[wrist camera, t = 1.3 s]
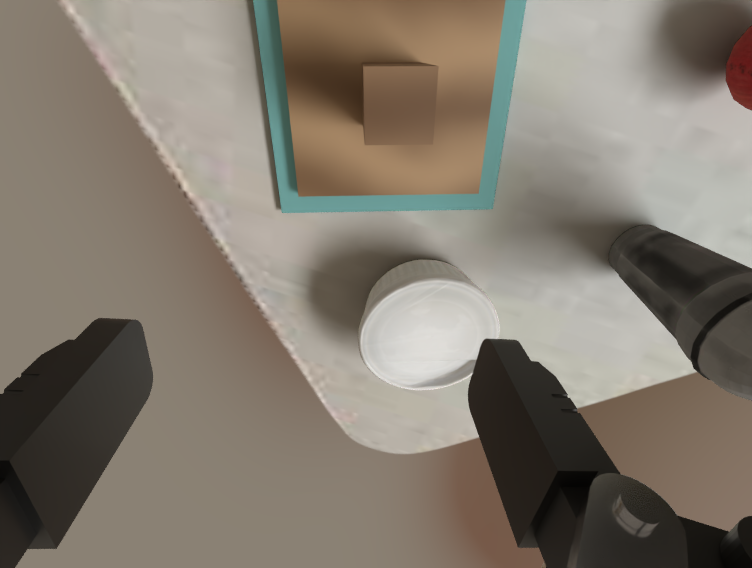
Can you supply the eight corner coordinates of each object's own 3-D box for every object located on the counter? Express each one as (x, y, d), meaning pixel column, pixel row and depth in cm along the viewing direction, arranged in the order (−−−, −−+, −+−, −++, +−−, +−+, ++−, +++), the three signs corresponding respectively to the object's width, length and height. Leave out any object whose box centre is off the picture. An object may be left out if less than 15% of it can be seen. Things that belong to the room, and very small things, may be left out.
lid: (275, -35, 22) (245, -66, 16) (505, -34, 22) (559, -63, 16) (299, 193, 28) (285, 230, 23) (475, 190, 29) (505, 226, 23)
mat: (245, -69, 21) (243, -71, 21) (533, -67, 22) (537, -69, 21) (282, 210, 29) (281, 212, 29) (490, 206, 30) (492, 209, 30)
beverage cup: (614, 300, 35) (855, 537, 18) (576, 249, 32) (822, 473, 15) (694, 250, 33) (1058, 468, 16) (661, 189, 30) (1066, 377, 13)
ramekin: (397, 367, 39) (403, 410, 34) (332, 289, 34) (328, 326, 29) (501, 316, 36) (522, 355, 31) (447, 222, 31) (462, 252, 26)
